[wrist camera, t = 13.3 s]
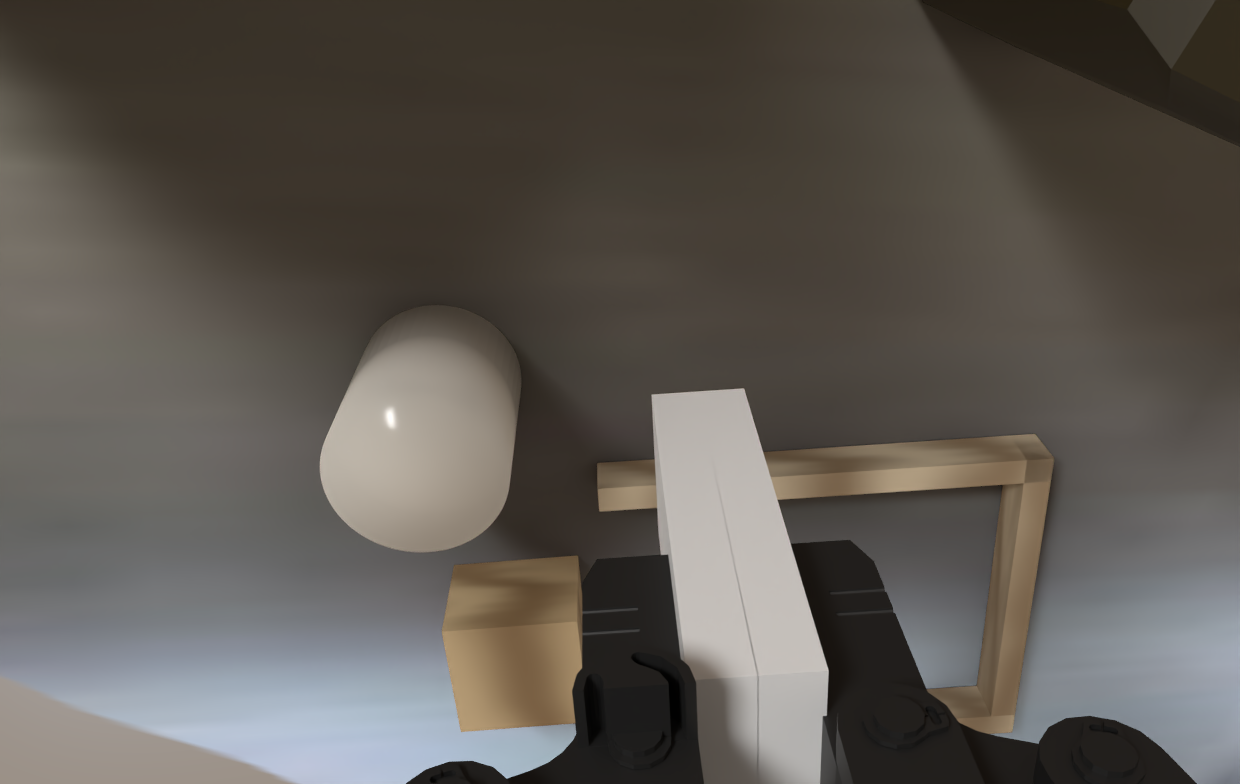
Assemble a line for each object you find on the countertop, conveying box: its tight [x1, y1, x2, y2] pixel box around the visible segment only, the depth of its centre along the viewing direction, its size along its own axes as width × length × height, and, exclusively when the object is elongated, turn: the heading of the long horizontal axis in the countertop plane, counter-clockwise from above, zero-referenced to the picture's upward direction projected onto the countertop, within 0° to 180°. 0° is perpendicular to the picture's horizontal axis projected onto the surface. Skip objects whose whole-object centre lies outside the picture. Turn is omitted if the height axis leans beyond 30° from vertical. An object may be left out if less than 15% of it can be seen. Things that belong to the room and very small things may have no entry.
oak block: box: [442, 555, 582, 732], centre depth 50 cm, size 6×6×5 cm
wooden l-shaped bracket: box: [597, 434, 1054, 734], centre depth 51 cm, size 20×16×2 cm
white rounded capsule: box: [320, 305, 522, 552], centre depth 42 cm, size 7×7×8 cm
